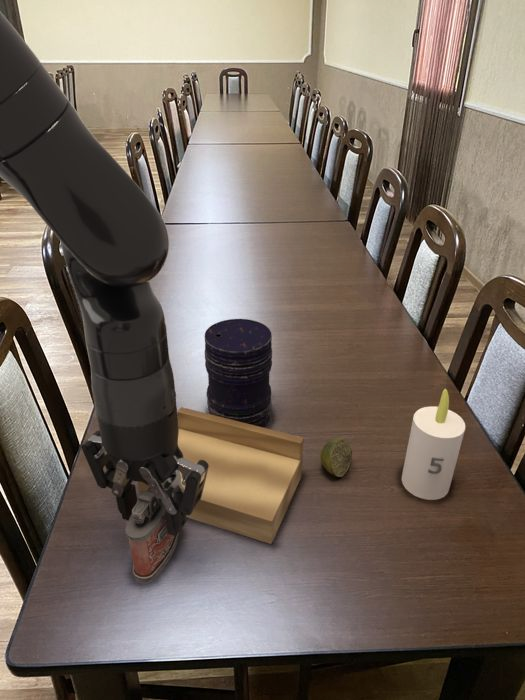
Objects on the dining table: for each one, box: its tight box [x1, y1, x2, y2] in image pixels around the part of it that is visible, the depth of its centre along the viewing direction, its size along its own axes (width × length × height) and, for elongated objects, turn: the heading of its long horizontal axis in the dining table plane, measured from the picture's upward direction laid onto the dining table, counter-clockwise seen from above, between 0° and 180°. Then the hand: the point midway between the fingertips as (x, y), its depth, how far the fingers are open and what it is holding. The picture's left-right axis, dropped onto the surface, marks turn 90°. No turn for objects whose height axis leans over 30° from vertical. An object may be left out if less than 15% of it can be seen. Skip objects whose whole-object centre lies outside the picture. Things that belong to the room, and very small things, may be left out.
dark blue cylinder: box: [204, 318, 273, 428], centre depth 81 cm, size 10×10×15 cm
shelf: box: [136, 406, 305, 545], centre depth 70 cm, size 12×18×7 cm, turn 69°
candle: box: [401, 388, 466, 501], centre depth 69 cm, size 6×6×15 cm
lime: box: [319, 437, 353, 478], centre depth 73 cm, size 4×5×5 cm
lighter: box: [124, 483, 180, 584], centre depth 60 cm, size 8×3×10 cm, turn 161°
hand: (153, 521), depth 60 cm, fingers open, 5 cm apart
